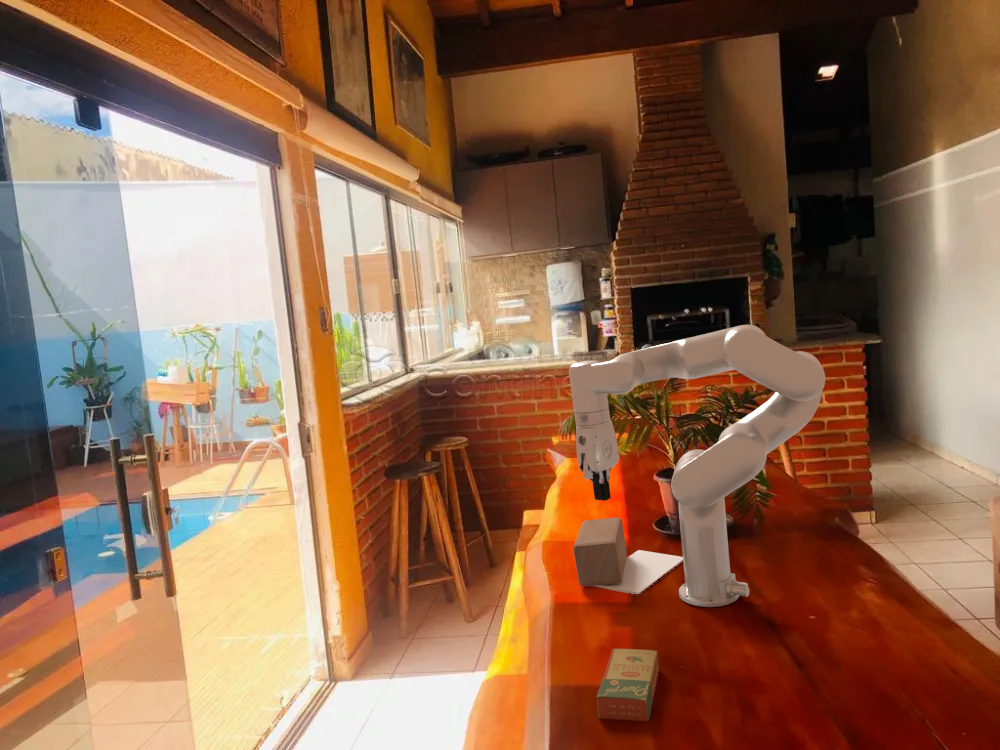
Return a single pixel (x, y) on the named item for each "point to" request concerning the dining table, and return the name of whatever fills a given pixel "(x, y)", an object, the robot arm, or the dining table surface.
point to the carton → (628, 685)
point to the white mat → (643, 571)
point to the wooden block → (600, 552)
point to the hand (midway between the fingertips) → (602, 498)
